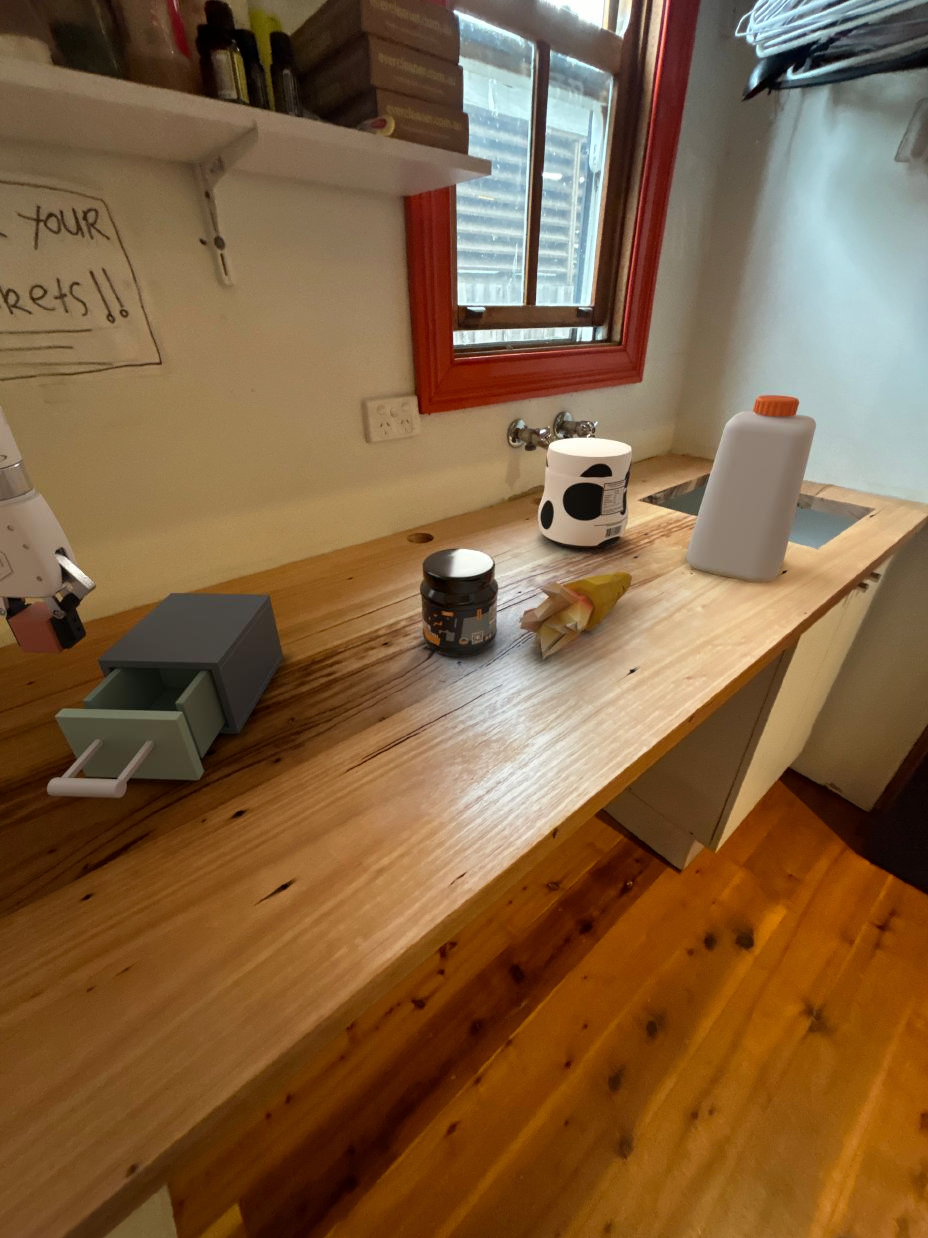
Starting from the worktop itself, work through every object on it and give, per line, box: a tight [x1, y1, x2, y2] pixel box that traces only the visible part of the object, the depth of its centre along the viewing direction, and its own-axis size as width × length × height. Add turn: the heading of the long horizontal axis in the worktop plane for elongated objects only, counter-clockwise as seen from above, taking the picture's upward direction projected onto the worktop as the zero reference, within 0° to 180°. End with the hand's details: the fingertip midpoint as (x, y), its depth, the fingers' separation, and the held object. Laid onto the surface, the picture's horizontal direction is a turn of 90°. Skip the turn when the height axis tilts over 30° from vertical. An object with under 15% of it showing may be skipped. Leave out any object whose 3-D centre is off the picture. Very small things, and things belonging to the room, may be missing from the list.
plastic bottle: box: [685, 394, 817, 583], centre depth 90 cm, size 15×15×28 cm
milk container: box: [537, 437, 633, 549], centre depth 103 cm, size 17×17×18 cm
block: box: [8, 600, 66, 654], centre depth 60 cm, size 4×4×4 cm
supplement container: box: [419, 547, 499, 658], centre depth 73 cm, size 10×10×12 cm
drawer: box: [46, 667, 227, 799], centre depth 54 cm, size 20×12×8 cm, turn 177°
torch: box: [518, 570, 633, 660], centre depth 77 cm, size 8×8×25 cm
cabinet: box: [96, 592, 284, 735], centre depth 64 cm, size 15×13×10 cm
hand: (53, 640), depth 61 cm, fingers closed on block, 4 cm apart
